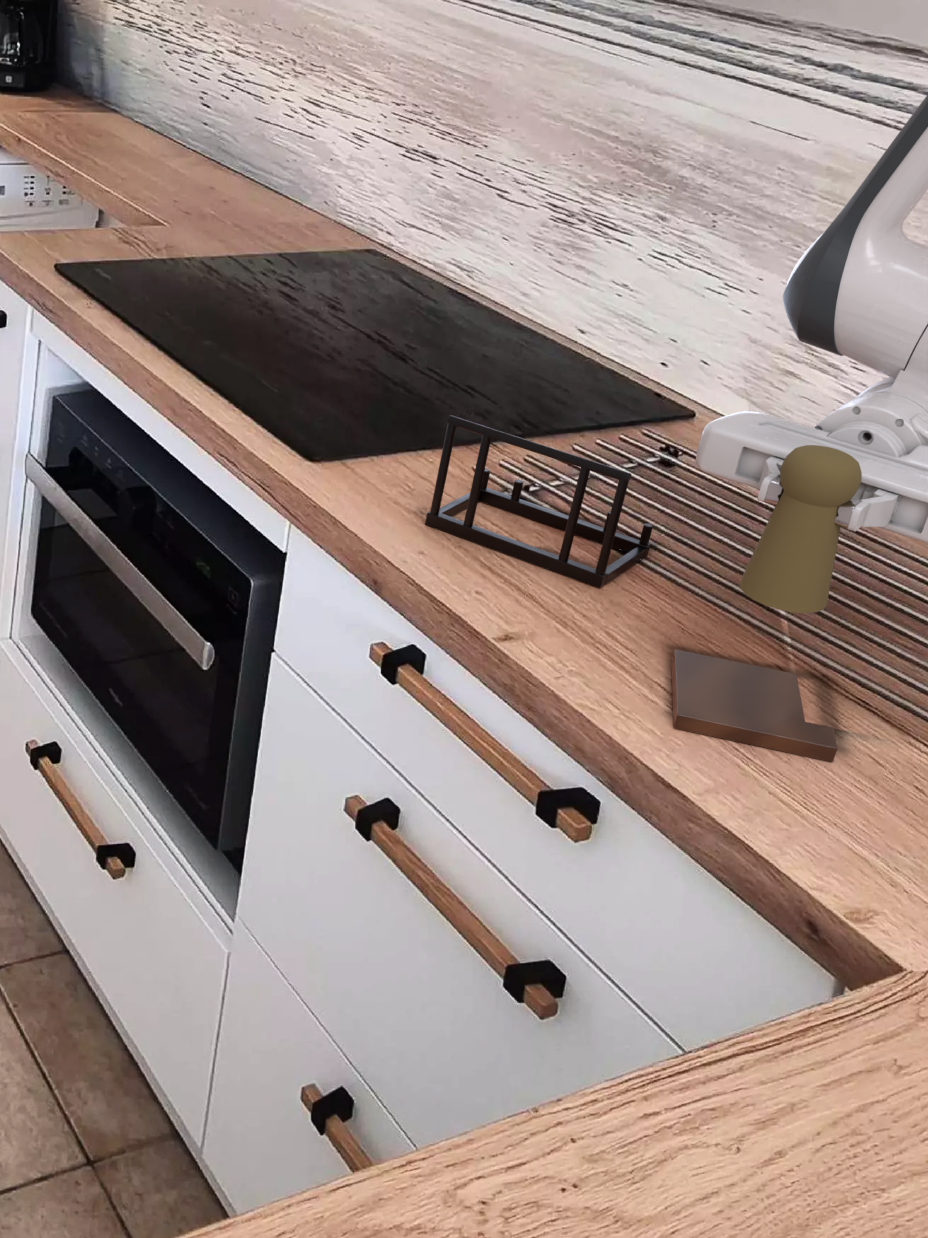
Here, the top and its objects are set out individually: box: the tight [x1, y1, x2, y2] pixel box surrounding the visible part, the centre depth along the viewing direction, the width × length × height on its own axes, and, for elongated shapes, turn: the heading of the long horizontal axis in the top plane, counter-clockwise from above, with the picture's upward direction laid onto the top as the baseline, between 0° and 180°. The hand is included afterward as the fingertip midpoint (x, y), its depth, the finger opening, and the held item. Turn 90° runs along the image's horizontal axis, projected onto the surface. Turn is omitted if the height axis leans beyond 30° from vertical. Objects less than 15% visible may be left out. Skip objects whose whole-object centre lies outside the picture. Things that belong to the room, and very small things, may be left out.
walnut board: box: [670, 649, 838, 763], centre depth 124 cm, size 11×11×1 cm
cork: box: [739, 445, 862, 614], centre depth 118 cm, size 6×6×11 cm
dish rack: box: [424, 415, 654, 589], centre depth 147 cm, size 10×17×10 cm, turn 51°
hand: (808, 505), depth 116 cm, fingers closed on cork, 4 cm apart
